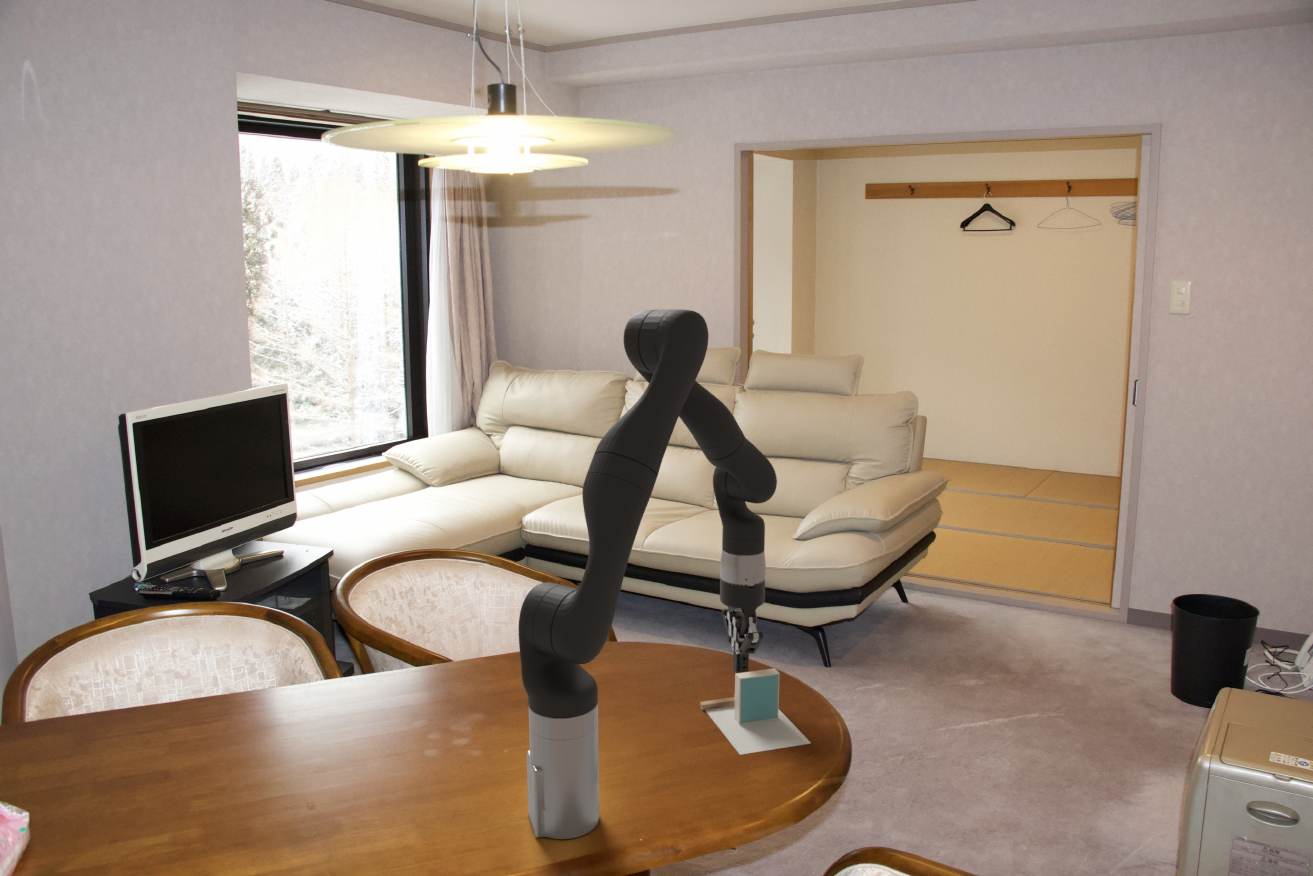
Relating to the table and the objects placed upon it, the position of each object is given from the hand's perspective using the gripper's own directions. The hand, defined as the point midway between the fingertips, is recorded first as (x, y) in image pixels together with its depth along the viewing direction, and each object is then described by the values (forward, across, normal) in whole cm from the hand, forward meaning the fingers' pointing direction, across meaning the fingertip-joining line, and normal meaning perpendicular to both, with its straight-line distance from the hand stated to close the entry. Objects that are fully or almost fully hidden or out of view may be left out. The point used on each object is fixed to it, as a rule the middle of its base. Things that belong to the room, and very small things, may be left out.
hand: (740, 672), depth 165 cm
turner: (+5, +1, -1) cm, 5 cm away
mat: (+6, +8, -1) cm, 10 cm away
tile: (+5, +7, 0) cm, 9 cm away
